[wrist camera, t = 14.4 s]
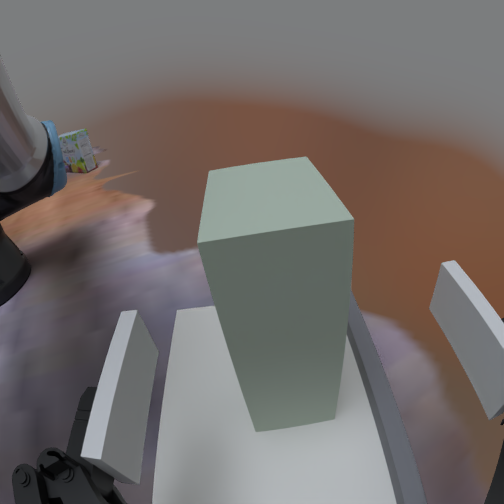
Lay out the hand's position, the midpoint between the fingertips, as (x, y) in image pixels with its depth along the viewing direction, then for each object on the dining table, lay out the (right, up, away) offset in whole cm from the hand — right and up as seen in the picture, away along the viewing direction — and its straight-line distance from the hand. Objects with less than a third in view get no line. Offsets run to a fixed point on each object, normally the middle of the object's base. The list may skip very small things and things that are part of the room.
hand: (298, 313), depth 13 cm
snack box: (-65, +32, +88) cm, 114 cm away
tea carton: (+1, -7, +8) cm, 10 cm away
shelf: (-1, -11, +7) cm, 13 cm away
